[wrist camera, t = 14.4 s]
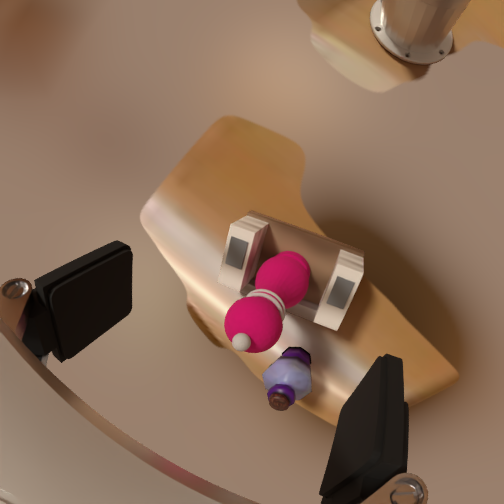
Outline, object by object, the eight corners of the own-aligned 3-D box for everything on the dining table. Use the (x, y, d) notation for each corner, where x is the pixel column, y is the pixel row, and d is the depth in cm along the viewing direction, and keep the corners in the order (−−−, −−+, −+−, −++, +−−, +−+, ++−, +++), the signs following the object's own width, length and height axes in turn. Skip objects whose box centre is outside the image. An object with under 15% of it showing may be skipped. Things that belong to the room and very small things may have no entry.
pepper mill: (322, 281, 43) (289, 367, 25) (281, 298, 46) (228, 382, 28) (299, 239, 42) (249, 302, 24) (258, 259, 45) (189, 325, 27)
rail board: (251, 210, 45) (230, 220, 38) (364, 251, 41) (365, 270, 34) (234, 278, 49) (213, 297, 43) (335, 318, 45) (329, 345, 38)
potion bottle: (265, 347, 52) (240, 390, 41) (306, 332, 48) (288, 378, 37) (287, 380, 53) (268, 425, 42) (327, 368, 49) (315, 417, 38)
